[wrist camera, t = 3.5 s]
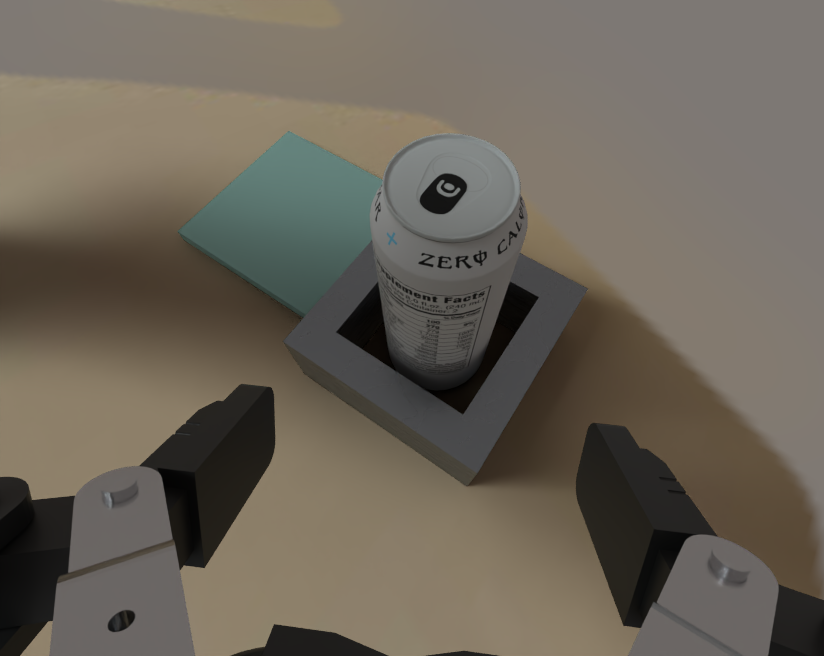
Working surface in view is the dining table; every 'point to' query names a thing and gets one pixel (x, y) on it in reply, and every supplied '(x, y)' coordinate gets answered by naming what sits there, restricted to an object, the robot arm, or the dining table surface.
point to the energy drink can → (445, 253)
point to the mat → (289, 222)
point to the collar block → (409, 403)
